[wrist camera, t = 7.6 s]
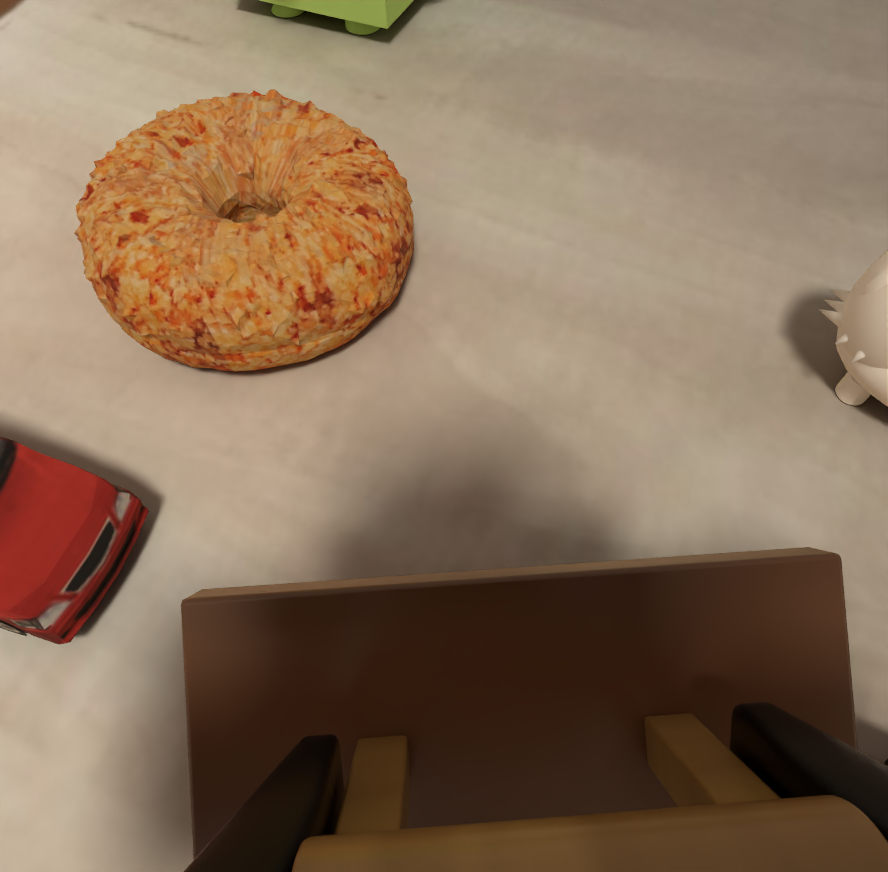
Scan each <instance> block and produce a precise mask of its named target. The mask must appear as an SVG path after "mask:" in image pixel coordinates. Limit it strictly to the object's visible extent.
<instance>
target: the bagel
mask: <svg viewBox="0 0 888 872" xmlns="http://www.w3.org/2000/svg"><path fill="white" fill-rule="evenodd" d="M94 163H95V166H96V168H95V170H94V171H93V172H92V173H90V174H89V175H90V177H91V179H92V180H91V181H90V182H89V183H88V185H87V189H86V192H85V194H84V196H83V197H82V198H81V199H80V200H79V203H78V204H77V205H76V211H77V217H78V219H79V221H80V222H81V225H80V226H79V227H78V229H77V230H76V231H75V234H76V235H77V236H78V240H79V241H80V242H81V244H82V249H83V254H84V261H83V263H84V266H85V271H84V274H85V275H86V279H88V280H89V281H91V282H92V285H93V288H94V290H95V292H96V294H97V296H98V299H99V300H100V302H101V303H102V304H103V306H104V307H105V309H106V310H107V312H108V313H109V314H110V316H111V317H112V319H113V320H114V321H116V322H117V323H118V324H119V325H120V326H121V327H122V329H123V330H124V331H125V332H126V333H127V334H128V335H130V336H131V337H132V338H133V339H135V340H136V341H137V342H138V343H140V344H141V345H142V346H144V347H146V348H147V349H149V350H151V351H153V352H155V353H157V354H159V355H160V356H162V357H164V358H166V359H170V360H174V361H178V362H181V363H183V364H186V365H188V366H191V367H198V368H214V369H217V370H224V371H246V370H258V369H265V368H271V367H276V366H281V365H286V364H291V363H296V362H301V361H306V360H310V359H312V358H314V357H316V356H318V355H320V354H322V353H325V352H327V351H330V350H333V349H335V348H338V347H340V346H341V345H343V344H345V343H346V342H348V341H349V340H351V339H353V338H354V337H355V336H356V335H357V334H358V333H360V332H361V331H362V330H363V329H364V328H365V327H366V326H367V325H368V324H369V323H371V322H372V321H373V320H374V319H375V318H376V317H377V316H378V315H379V314H380V313H381V312H382V311H383V310H385V309H386V308H388V307H389V306H390V305H391V303H392V302H393V301H394V299H395V298H396V296H397V295H398V292H399V289H400V287H401V284H402V282H403V280H404V278H405V276H406V273H407V269H408V266H409V262H410V259H411V256H412V253H413V250H414V241H413V213H412V210H411V206H410V205H411V203H412V199H411V196H410V194H409V192H408V189H407V179H405V178H404V177H402V176H400V174H399V172H398V171H397V169H396V168H395V166H394V162H392V161H390V160H389V159H388V154H386V152H385V151H381V150H380V149H379V148H378V146H377V145H376V143H375V142H374V140H372V139H371V138H369V137H368V136H366V135H364V134H363V133H362V132H361V130H360V129H359V128H354V127H350V126H349V125H347V124H346V123H345V122H344V121H343V120H342V119H340V118H338V117H336V116H335V115H333V114H331V113H327V112H325V111H322V110H319V109H317V107H316V106H315V105H314V104H313V103H312V102H311V101H308V102H306V103H304V104H303V103H300V102H297V101H294V100H291V99H288V98H285V97H283V96H282V95H281V94H280V93H278V92H277V91H276V90H275V89H274V90H269V91H268V93H267V94H266V95H262V94H260V93H258V92H256V91H254V90H253V93H251V94H247V93H231V94H230V95H229V96H228V97H214V98H212V99H204V100H197V103H195V104H190V105H187V104H181V105H180V106H179V107H178V109H174V110H172V111H170V112H168V111H166V110H162V111H159V112H157V115H156V119H155V120H153V121H151V122H149V123H147V124H144V125H143V126H142V127H141V128H140V129H136V130H134V131H132V132H130V134H129V135H128V136H127V137H126V138H123V139H121V140H119V141H117V142H116V147H115V149H114V150H112V151H110V152H107V154H106V157H105V158H103V159H102V160H98V161H94Z"/></svg>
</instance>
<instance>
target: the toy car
mask: <svg viewBox="0 0 888 872" xmlns="http://www.w3.org/2000/svg"><path fill="white" fill-rule="evenodd" d="M148 512H149V511H148V509H147V508H146V507H144V506H143V505H142V503H141V501H140V499H139V498H137V497H136V496H135V495H134V494H133V493H131V492H130V491H128V490H126V489H124V488H121V487H119V486H116V485H114V484H112V483H110V482H108V481H107V480H105V479H104V478H101V477H99V476H97V475H94V474H92V473H90V472H88V471H85V470H83V469H81V468H78V467H76V466H74V465H71V464H68V463H66V462H63V461H60V460H57V459H54V458H52V457H49V456H46V455H43V454H41V453H38V452H36V451H34V450H32V449H30V448H28V447H26V446H23V445H21V444H19V443H17V442H15V441H13V440H9V439H6V438H3V437H0V628H3V629H6V630H9V631H12V632H15V633H18V634H21V635H25V636H27V635H26V634H25V633H23V632H27V633H29V634H31V635H33V636H36V637H39V638H42V639H45V640H48V641H51V642H54V643H56V644H63V643H68V642H71V640H72V639H73V638H74V636H75V635H76V634H77V632H78V631H79V630H80V628H81V627H82V626H83V624H84V623H85V622H86V621H87V619H88V618H89V617H90V615H91V614H92V613H93V611H94V610H95V609H96V607H97V606H98V604H99V603H100V601H101V600H102V598H103V597H104V595H105V594H106V592H107V591H108V589H109V588H110V586H111V585H112V583H113V582H114V580H115V579H116V577H117V576H118V574H119V572H120V570H121V568H122V566H123V564H124V562H125V561H126V559H127V557H128V555H129V553H130V551H131V549H132V547H133V545H134V544H135V542H136V539H137V537H138V535H139V533H140V530H141V528H142V526H143V523H144V521H145V519H146V517H147V514H148ZM19 630H20V631H19ZM21 631H23V632H21Z"/></svg>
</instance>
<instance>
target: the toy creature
mask: <svg viewBox="0 0 888 872" xmlns="http://www.w3.org/2000/svg"><path fill="white" fill-rule="evenodd" d="M830 290H831V289H830ZM831 291H832V292H833V293H834V294H836V295H837V296H838V297H839V298H840V299H841V300H843V301H844V302H842V301H833V300H825V301H826V302H827V303H828V304H829V305H831V306H832V307H833V308H834V309H835V310H836V311H829V310H820V309H818V310H820V311H821V312H822V313H823V314H824V315H825V316H826V317H828V318H829V319H830V320H831V321H832V322H833V323H834V324H836V325H837V326H838V332H837V341H836V343H835V344H836V348H837V351H838V353H839V355H840V357H841V359H842V361H843V364H844V366H845V368H846V370H847V371H848V372H847V373H846V375H845V376H844V377H843V378H842V379H841V381H840V382H839V383H838V384H837V385H836V388H835V391H836V394H837V396H838V398H839V399H840V400H841V401H843V402H844V403H846V404H849V405H860V404H862V403H864V402H865V401H866V400H867V398H868V397H869V396H870V395H872V396H874V397H875V398H876V399H878V400H879V401H880V402H882V403H883V404H884V405H886V406H887V407H888V250H887V251H886V252H885V253H884V254H883V255H882V256H881V257H880V258H879V259H878V260H877V261H876V262H875V263H874V264H873V265H872V266H871V267H870V268H869V269H868V270H867V271H866V272H865V273H864V274H863V275H862V277H861V278H860V279H859V280H858V281H857V283H856V284H855V285H854V287H853V288H852V290H851V291H841V290H831Z"/></svg>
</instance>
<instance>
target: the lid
mask: <svg viewBox="0 0 888 872" xmlns="http://www.w3.org/2000/svg"><path fill="white" fill-rule="evenodd" d="M181 615H182V635H183V655H184V676H185V696H186V716H187V737H188V757H189V777H190V797H191V818H192V838H193V858H194V859H195V858H196V857H197V856H198V855H199V854H200V853H201V852H202V850H203V849H204V848H205V847H206V846H207V845H208V844H209V843H210V841H211V840H212V839H213V838H214V837H215V836H216V835H217V834H218V832H219V831H220V830H221V829H222V828H223V827H224V826H225V825H226V823H227V822H228V821H229V820H230V819H231V818H232V817H233V816H234V815H235V813H236V812H237V811H238V810H239V809H240V808H241V807H242V806H243V804H244V803H245V802H246V801H247V800H248V799H249V798H250V797H251V795H252V794H253V793H254V792H255V791H256V790H257V789H258V788H259V786H260V785H261V784H262V783H263V782H264V781H265V780H266V779H267V777H268V776H269V775H270V774H271V773H272V772H273V771H274V770H275V768H276V767H277V766H278V765H279V764H280V763H281V762H282V761H283V759H284V758H285V757H286V756H287V755H288V754H289V753H290V752H291V750H292V749H293V748H294V747H295V746H296V745H297V744H298V743H299V742H300V740H301V739H303V738H304V737H306V736H314V735H328V734H334V735H335V736H336V737H337V738H338V740H339V745H340V754H341V763H342V773H343V782H344V792H345V793H344V797H343V801H342V805H341V809H340V813H339V817H338V821H337V825H336V829H335V833H334V835H323V836H311V837H309V838H307V839H305V840H304V841H303V842H302V843H301V845H300V847H299V849H298V852H297V854H296V857H295V861H294V864H293V868H292V872H888V842H887V840H886V839H885V837H884V836H883V835H882V833H881V832H880V831H879V829H878V828H877V827H876V826H875V824H874V823H873V822H872V821H871V820H870V819H869V818H868V817H867V816H866V814H864V813H863V812H862V811H861V810H860V809H859V808H858V807H856V806H855V805H853V804H852V803H851V802H849V801H847V800H845V799H842V798H840V797H837V796H833V795H820V796H807V797H795V798H783V799H781V798H780V797H779V796H778V795H777V794H776V793H775V792H774V791H773V790H772V789H771V788H770V787H769V786H768V785H766V784H765V783H764V782H763V781H762V780H761V779H760V778H759V777H758V776H757V775H756V774H755V773H754V772H753V771H752V770H751V769H750V768H749V767H748V766H747V765H745V764H744V763H743V762H742V761H741V760H740V759H739V758H738V757H737V756H736V755H735V754H734V753H733V752H732V751H731V750H730V738H731V720H732V712H733V709H734V707H735V706H737V705H738V704H742V703H755V702H768V703H771V704H773V705H775V706H777V707H779V708H781V709H783V710H784V711H786V712H788V713H790V714H792V715H794V716H796V717H797V718H799V719H801V720H803V721H805V722H807V723H809V724H810V725H812V726H814V727H816V728H818V729H820V730H822V731H823V732H825V733H827V734H829V735H831V736H833V737H835V738H836V739H838V740H840V741H842V742H844V743H846V744H848V745H849V746H851V747H853V748H855V749H857V750H858V747H857V736H856V724H855V713H854V701H853V690H852V678H851V667H850V655H849V644H848V632H847V621H846V609H845V598H844V586H843V575H842V563H841V558H840V556H839V555H838V554H836V553H832V552H827V551H823V550H818V549H814V548H810V547H804V548H790V549H776V550H761V551H747V552H733V553H718V554H704V555H690V556H675V557H661V558H647V559H632V560H618V561H603V562H589V563H575V564H560V565H546V566H532V567H517V568H503V569H489V570H474V571H460V572H446V573H431V574H417V575H403V576H388V577H374V578H359V579H345V580H331V581H316V582H302V583H288V584H273V585H259V586H245V587H230V588H216V589H202V590H200V591H198V592H196V593H195V594H193V595H191V596H189V597H188V598H186V599H184V600H182V603H181Z"/></svg>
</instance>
